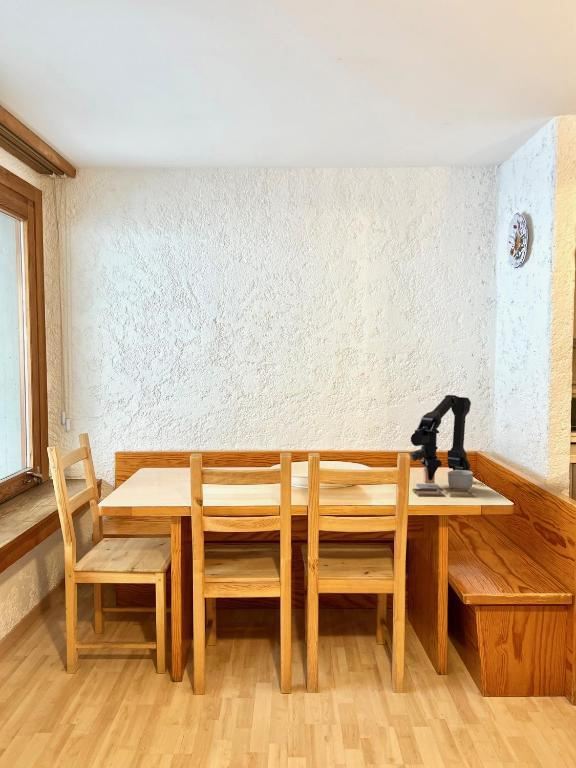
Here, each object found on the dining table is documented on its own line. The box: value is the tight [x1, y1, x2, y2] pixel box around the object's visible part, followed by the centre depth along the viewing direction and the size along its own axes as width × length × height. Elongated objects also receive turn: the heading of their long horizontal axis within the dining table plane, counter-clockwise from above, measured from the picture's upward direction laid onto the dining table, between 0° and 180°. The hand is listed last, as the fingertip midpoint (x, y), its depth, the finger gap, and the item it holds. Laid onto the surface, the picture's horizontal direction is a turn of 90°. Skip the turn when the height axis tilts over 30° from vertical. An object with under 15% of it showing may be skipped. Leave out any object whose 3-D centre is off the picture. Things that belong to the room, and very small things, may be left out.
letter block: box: [422, 467, 436, 484], centre depth 290 cm, size 4×4×6 cm
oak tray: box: [442, 488, 477, 498], centre depth 279 cm, size 11×11×2 cm
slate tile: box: [416, 483, 443, 492], centre depth 290 cm, size 9×9×2 cm
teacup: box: [447, 470, 474, 490], centre depth 292 cm, size 14×11×8 cm
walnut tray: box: [412, 488, 445, 498], centre depth 279 cm, size 11×11×2 cm
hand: (429, 479), depth 290 cm, fingers closed on letter block, 4 cm apart
